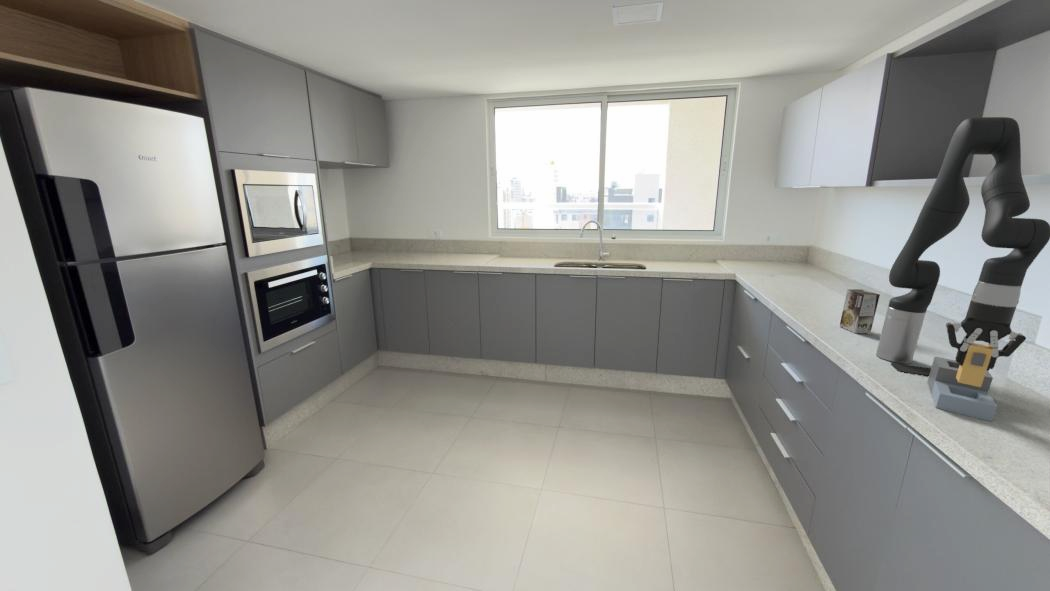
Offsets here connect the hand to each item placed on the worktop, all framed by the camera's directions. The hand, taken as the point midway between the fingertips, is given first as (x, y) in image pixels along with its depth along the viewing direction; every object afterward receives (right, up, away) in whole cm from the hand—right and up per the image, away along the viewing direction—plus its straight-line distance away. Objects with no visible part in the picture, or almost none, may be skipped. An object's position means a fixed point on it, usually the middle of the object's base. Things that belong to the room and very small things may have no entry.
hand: (972, 366), depth 105 cm
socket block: (+3, -10, +7) cm, 12 cm away
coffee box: (+20, +4, +63) cm, 66 cm away
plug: (0, -4, +1) cm, 4 cm away
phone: (+11, -6, +24) cm, 27 cm away
